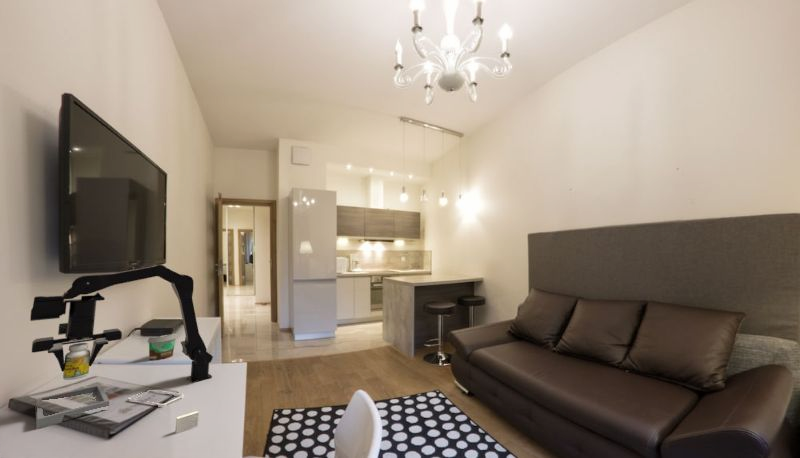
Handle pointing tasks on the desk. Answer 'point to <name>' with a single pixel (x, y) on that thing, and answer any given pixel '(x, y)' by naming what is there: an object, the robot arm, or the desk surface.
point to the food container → (162, 346)
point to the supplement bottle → (76, 362)
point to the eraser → (187, 421)
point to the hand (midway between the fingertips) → (76, 368)
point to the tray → (57, 417)
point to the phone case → (169, 401)
